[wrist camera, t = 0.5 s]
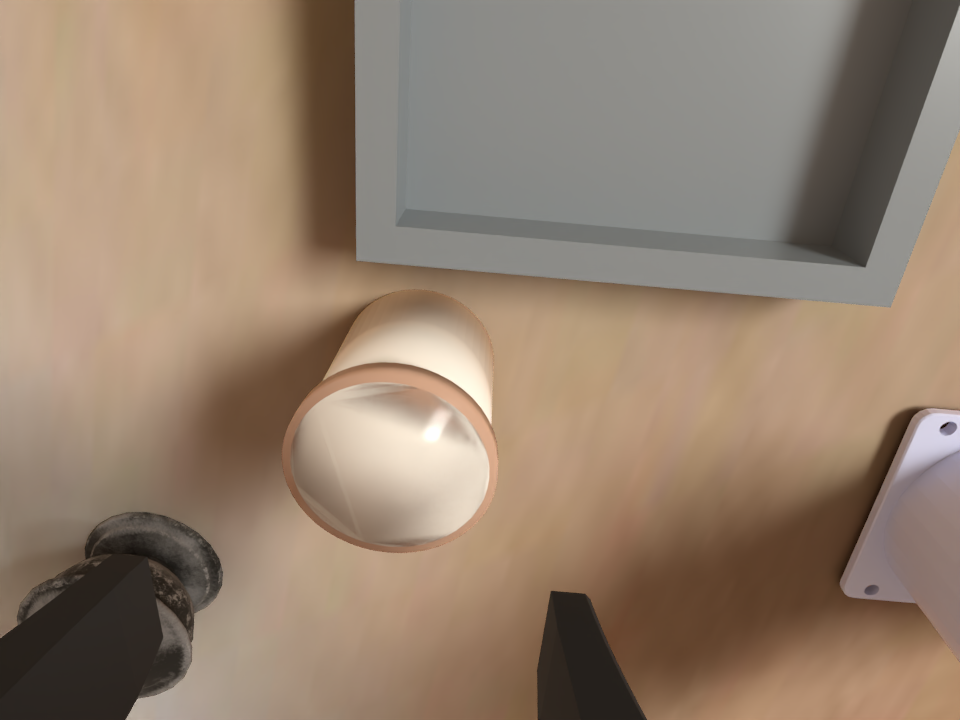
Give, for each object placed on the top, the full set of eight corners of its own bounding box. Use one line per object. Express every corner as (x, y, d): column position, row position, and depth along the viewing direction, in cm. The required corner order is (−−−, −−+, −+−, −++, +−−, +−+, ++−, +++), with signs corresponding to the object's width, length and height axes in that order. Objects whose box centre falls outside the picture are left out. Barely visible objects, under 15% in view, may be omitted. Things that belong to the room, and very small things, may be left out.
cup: (507, 290, 20) (508, 384, 14) (492, 434, 22) (488, 561, 17) (337, 276, 20) (275, 364, 14) (340, 420, 22) (287, 543, 17)
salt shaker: (52, 515, 24) (-306, 889, 14) (198, 497, 24) (-55, 875, 13) (116, 626, 27) (-143, 1015, 16) (250, 612, 26) (73, 1009, 16)
